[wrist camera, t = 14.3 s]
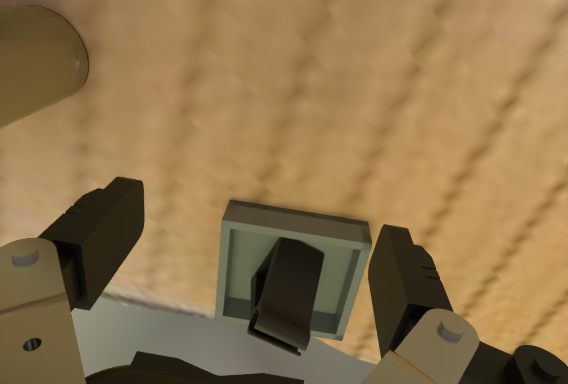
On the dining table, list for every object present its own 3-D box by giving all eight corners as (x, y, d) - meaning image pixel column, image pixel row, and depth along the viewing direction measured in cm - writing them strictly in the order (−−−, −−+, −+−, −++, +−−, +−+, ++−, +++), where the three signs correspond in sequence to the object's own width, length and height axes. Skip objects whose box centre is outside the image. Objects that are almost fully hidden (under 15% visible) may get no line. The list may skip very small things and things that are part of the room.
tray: (222, 295, 55) (214, 320, 51) (230, 199, 47) (221, 219, 43) (340, 315, 55) (342, 340, 51) (368, 222, 47) (372, 244, 43)
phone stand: (289, 297, 53) (281, 376, 42) (250, 278, 52) (232, 354, 41) (324, 252, 48) (326, 328, 38) (283, 231, 47) (272, 303, 37)
